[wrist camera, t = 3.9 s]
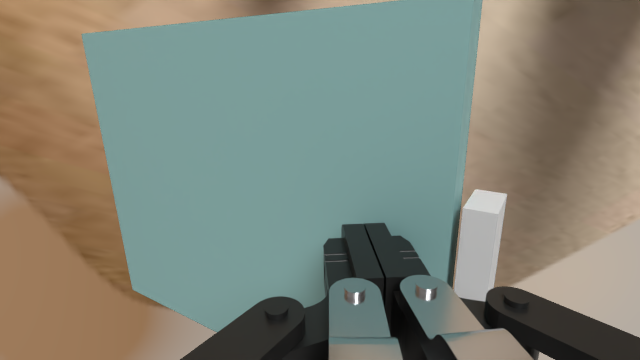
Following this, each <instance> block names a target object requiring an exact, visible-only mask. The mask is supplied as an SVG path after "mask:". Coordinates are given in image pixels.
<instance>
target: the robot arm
mask: <svg viewBox="0 0 640 360" xmlns="http://www.w3.org/2000/svg"><path fill="white" fill-rule="evenodd" d="M323 256H324V288H325V298H324V299H323V300H322V301H321V302H319V303H317V304H315V305H312V306H309V307H306V308H304V307H303V305H302V304H301V303H300V302H299V301H297V300H295V299H293V298H290V297H284V296H277V297H271V298H267V299H264V300H262V301H260V302H258V303H257V304H255V305H254V306H253V307H251V308H250V309H249V310H247V311H246V312H245V313H243V314H242V315H240V316H239V317H238V318H236V319H235V320H234V321H232V322H231V323H230V324H228V325H227V326H225V327H224V328H223V329H221V330H220V331H219V332H217V333H216V334H214V335H213V336H212V337H211V338H209V339H208V340H206V341H205V342H204V343H203V344H201V345H199V346H198V347H197V348H195V349H194V350H193V351H191V352H190V353H189V354H187V355H186V356H184V357H183V358H182V359H180V360H538V356H539V352H541V353H543V354H545V355H547V356H549V357H551V358H553V359H555V360H640V338H639V337H637V336H634V335H632V334H629V333H627V332H624V331H622V330H620V329H617V328H615V327H612V326H610V325H607V324H605V323H602V322H600V321H598V320H595V319H593V318H590V317H588V316H585V315H583V314H580V313H578V312H576V311H573V310H571V309H568V308H566V307H564V306H561V305H559V304H556V303H554V302H551V301H549V300H546V299H544V298H542V297H539V296H537V295H534V294H532V293H529V292H527V291H524V290H521V289H518V288H513V287H495V288H492V289H490V290H489V291H488V292H487V294H486V300H485V302H484V301H478V300H471V299H465V298H460V297H458V295H457V294H456V293H455V292H454V290H453V289H452V288H451V287H450V286H449V285H448V284H447V283H446V282H444V281H443V280H441V279H439V278H436V277H433V276H431V275H430V274H429V272H428V270H427V269H426V267H425V265H424V264H423V262H422V261H421V259H420V258H419V256H418V254H417V252H415V249H414V248H413V246H412V244H411V243H410V242H409V241H408V240H406V239H405V238H403V237H402V236H400V235H399V236H391V234H390V232H389V230H388V228H387V226H386V225H385V223H364V224H342V228H341V238H328V240H327V241H326V243H325V244H324V245H323Z"/></svg>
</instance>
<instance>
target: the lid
mask: <svg viewBox="0 0 640 360" xmlns="http://www.w3.org/2000/svg"><path fill="white" fill-rule="evenodd" d="M481 9H482V0H400V1H390V2H381V3H371V4H362V5H352V6H343V7H333V8H324V9H314V10H305V11H295V12H286V13H276V14H267V15H257V16H248V17H238V18H229V19H219V20H210V21H200V22H191V23H181V24H172V25H162V26H153V27H143V28H134V29H124V30H114V31H105V32H95V33H86V34H82V39H83V44H84V49H85V54H86V59H87V64H88V69H89V74H90V79H91V84H92V89H93V94H94V99H95V104H96V109H97V114H98V119H99V124H100V129H101V134H102V139H103V144H104V149H105V154H106V159H107V164H108V169H109V174H110V179H111V184H112V189H113V193H114V198H115V203H116V208H117V213H118V218H119V223H120V228H121V233H122V238H123V243H124V248H125V253H126V258H127V263H128V268H129V273H130V278H131V283H132V288H133V290H135V291H137V292H139V293H140V294H142V295H144V296H146V297H148V298H150V299H152V300H154V301H156V302H158V303H160V304H162V305H164V306H166V307H168V308H170V309H172V310H174V311H176V312H178V313H180V314H182V315H184V316H186V317H188V318H190V319H192V320H194V321H196V322H198V323H200V324H202V325H203V326H205V327H207V328H209V329H211V330H213V331H216V332H219V331H220V330H221V329H223V328H224V327H225V326H227V325H228V324H230V323H231V322H232V321H234V320H235V319H236V318H238V317H239V316H240V315H242V314H243V313H245V312H246V311H247V310H249V309H250V308H251V307H253V306H254V305H255V304H257V303H258V302H260V301H262V300H264V299H267V298H271V297H277V296H284V297H290V298H293V299H295V300H297V301H299V302H300V303H301V304H302V305H303V307H304V308H306V307H309V306H312V305H315V304H317V303H319V302H321V301H322V300H323V299H324V298H325V288H324V256H323V245H324V244H325V243H326V241H327V240H328V238H341V228H342V224H364V223H385V225H386V226H387V228H388V230H389V232H390V234H391V236H399V235H400V236H402V237H403V238H405V239H406V240H408V241H409V242H410V243H411V244H412V246H413V248H414V249H415V252H417V254H418V256H419V258H420V259H421V261H422V262H423V264H424V265H425V267H426V269H427V270H428V272H429V274H430V275H431V276H433V277H436V278H439V279H441V280H443V281H444V282H446V283H447V284H448V285H449V286H450V287H451V288H452V286H453V276H454V267H455V257H456V248H457V238H458V228H459V219H460V209H461V200H462V190H463V181H464V171H465V162H466V152H467V143H468V133H469V124H470V114H471V105H472V95H473V85H474V76H475V66H476V57H477V47H478V38H479V28H480V19H481ZM506 199H507V194H504V193H498V192H491V191H485V190H478V189H475V191H474V192H473V194H472V195H471V197H470V198H469V200H468V201H467V203H466V204H465V206H464V207H463V211H462V221H461V230H460V239H459V249H458V258H457V268H456V277H455V286H454V292H455V293H456V294H457V295H458V297H460V298H465V299H471V300H478V301H484V302H485V300H486V294H487V292H488V291H489V290H490V289H492V288H494V282H495V275H496V268H497V261H498V254H499V247H500V240H501V233H502V226H503V219H504V213H505V206H506Z"/></svg>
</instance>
